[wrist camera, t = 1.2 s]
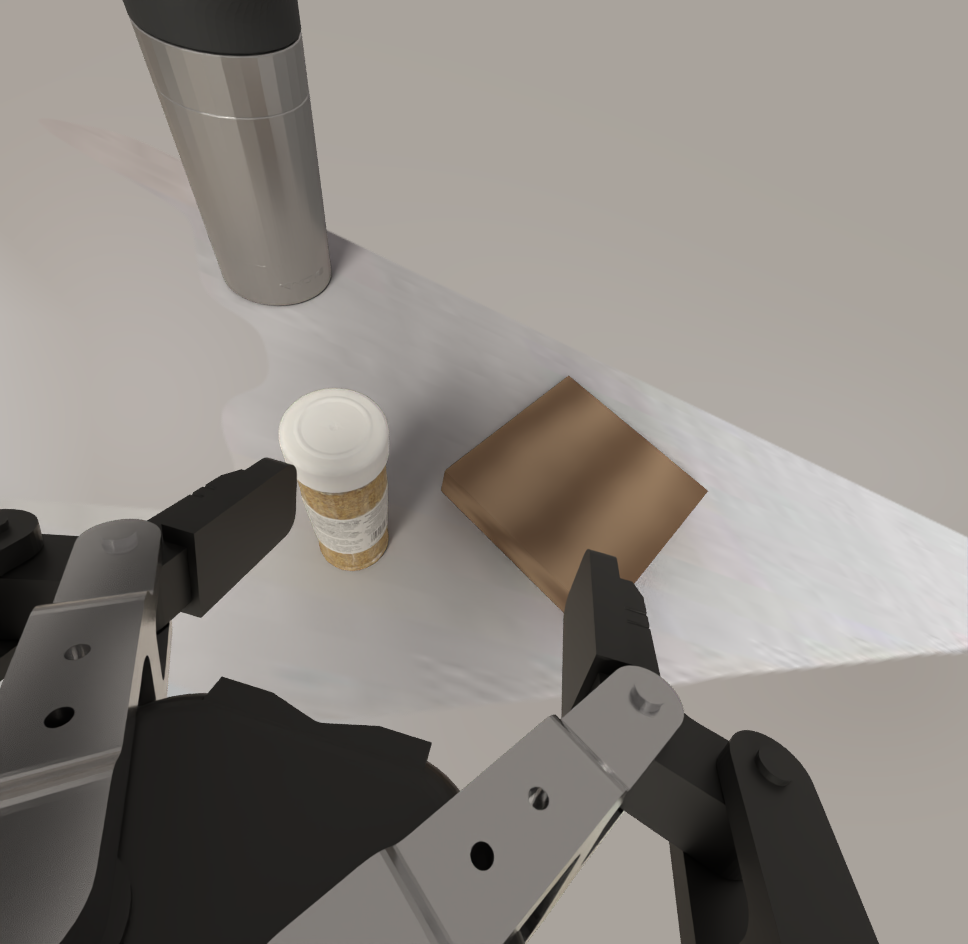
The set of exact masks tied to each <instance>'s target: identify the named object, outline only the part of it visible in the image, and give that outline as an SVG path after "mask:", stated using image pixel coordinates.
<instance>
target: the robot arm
mask: <svg viewBox="0 0 968 944" xmlns="http://www.w3.org/2000/svg"><path fill="white" fill-rule="evenodd" d="M123 2H124V5H125V7H126V10H127V13H128V15H129V17H130V20H131V23H132V26H133V29H134V31H135V34H136V37H137V39H138V42H139V45H140V48H141V50H142V53H143V56H144V59H145V61H146V64H147V67H148V70H149V72H150V75H151V78H152V81H153V83H154V86H155V89H156V91H157V94H158V97H159V99H160V102H161V105H162V108H163V111H164V113H165V116H166V119H167V122H168V125H169V127H170V130H171V133H172V136H173V138H174V141H175V144H176V147H177V150H178V152H179V155H180V158H181V161H182V164H183V166H184V169H185V172H186V175H187V177H188V180H189V183H190V186H191V189H192V191H193V194H194V197H195V200H196V202H197V205H198V208H199V211H200V214H201V216H202V219H203V222H204V225H205V228H206V230H207V233H208V236H209V239H210V242H211V245H212V248H213V250H214V253H215V256H216V259H217V261H218V264H219V267H220V270H221V272H222V275H223V278H224V280H225V282H226V283H227V285H228V286H229V287H230V288H231V289H232V290H233V291H234V292H235V293H236V294H238V295H240V296H241V297H243V298H245V299H248V300H250V301H252V302H256V303H261V304H266V305H290V304H296V303H300V302H303V301H306V300H309V299H311V298H313V297H314V296H316V295H318V294H319V293H320V292H321V291H323V290H324V289H325V287H326V286H327V285H328V283H329V281H330V278H331V264H330V256H329V248H328V240H327V231H326V223H325V215H324V207H323V199H322V191H321V183H320V175H319V167H318V159H317V151H316V143H315V136H314V127H313V119H312V111H311V103H310V95H309V89H308V81H307V72H306V65H305V57H304V48H303V41H302V33H301V25H300V16H299V9H298V1H297V0H123ZM296 488H297V470H296V467H295V466H294V465H292V464H288V463H285V462H281V461H278V460H274V459H271V458H263V459H261V460H260V461H258V462H257V463H255V464H254V465H252V466H251V467H249V468H247V469H246V470H242V469H241V470H238V471H234V472H231V473H228V474H224V475H221V476H220V477H218V478H216V479H214V480H213V481H211V482H209V483H208V484H206V486H205V487H201V488H200V489H198V490H196V491H195V492H193V494H192V495H188V496H187V497H185V498H183V499H182V500H180V501H178V502H177V503H175V504H174V505H172V506H170V507H169V508H167V509H165V510H164V511H162V512H160V513H159V514H157V515H156V516H154V517H152V518H151V519H149V520H147V521H145V520H139V519H121V520H114V521H109V522H105V523H102V524H99V525H96V526H94V527H92V528H90V529H88V530H86V531H85V532H83V533H82V534H81V535H80V536H66V535H50V534H41V530H40V526H39V522H38V519H37V517H36V516H35V515H34V514H32V513H30V512H27V511H23V510H15V509H0V681H1V680H3V679H4V680H3V682H2V685H1V688H0V944H526V943H527V942H528V941H529V940H530V938H531V937H532V936H533V934H534V933H535V932H536V930H537V929H538V928H539V926H540V925H541V924H542V922H543V921H544V920H545V918H546V917H547V916H548V914H549V913H550V912H551V910H552V909H553V907H554V906H555V904H556V903H557V902H558V900H559V899H560V898H561V896H562V895H563V893H564V892H565V890H566V889H567V887H568V886H569V884H570V883H571V882H572V880H573V879H574V878H575V876H576V875H577V874H578V872H579V871H580V870H581V868H582V867H583V866H584V864H585V863H586V862H587V861H588V859H589V858H590V857H591V855H592V854H593V853H594V851H595V850H596V849H597V847H598V846H599V845H600V843H601V842H602V841H603V839H604V838H605V837H606V835H607V834H608V833H609V831H610V830H611V829H612V827H613V826H614V825H615V824H616V822H617V821H618V820H619V818H620V817H621V816H622V815H623V813H624V812H625V811H626V812H627V813H628V814H630V815H631V816H633V817H634V818H636V819H637V820H639V821H640V822H642V823H643V824H644V825H646V826H647V827H649V828H650V829H652V830H653V831H655V832H656V833H658V834H659V835H660V836H662V837H663V838H665V839H666V840H668V841H669V844H670V854H671V862H672V870H673V879H674V887H675V895H676V904H677V913H678V921H679V930H680V938H681V944H879V943H878V941H877V938H876V935H875V933H874V930H873V928H872V925H871V923H870V921H869V918H868V916H867V914H866V911H865V908H864V906H863V904H862V901H861V899H860V896H859V894H858V891H857V889H856V887H855V884H854V882H853V879H852V877H851V874H850V872H849V870H848V867H847V865H846V862H845V860H844V858H843V855H842V853H841V850H840V848H839V845H838V843H837V840H836V838H835V835H834V833H833V831H832V828H831V826H830V824H829V821H828V819H827V816H826V814H825V811H824V809H823V806H822V804H821V802H820V799H819V797H818V794H817V792H816V790H815V787H814V785H813V782H812V780H811V778H810V776H809V775H808V773H807V771H806V770H805V769H804V767H803V766H802V765H801V763H800V762H799V761H798V760H797V759H796V758H795V757H794V756H793V755H792V754H791V753H790V752H789V751H788V750H787V749H786V748H784V747H783V746H782V745H781V744H779V743H778V742H776V741H775V740H773V739H772V738H770V737H768V736H766V735H764V734H761V733H759V732H755V731H750V730H743V731H739V732H737V733H735V734H734V735H733V736H732V738H731V739H730V740H729V741H728V740H726V739H724V738H723V737H721V736H719V735H718V734H716V733H714V732H713V731H711V730H709V729H707V728H705V727H704V726H702V725H700V724H699V723H697V722H696V721H694V720H693V719H691V718H690V717H688V716H687V715H686V714H685V713H684V710H683V705H682V703H681V700H680V698H679V697H678V695H677V693H676V692H675V691H674V689H673V688H672V687H671V686H670V685H669V684H668V683H667V682H666V681H665V680H664V679H663V678H661V677H660V673H659V668H658V663H657V659H656V654H655V650H654V645H653V640H652V636H651V631H650V629H649V622H648V617H647V616H646V613H647V612H646V608H645V603H644V599H643V596H642V595H641V593H640V592H639V590H638V589H637V588H636V586H635V585H634V583H633V582H632V581H629V580H625V579H622V578H620V575H619V568H618V562H617V558H616V557H615V556H612V555H608V554H605V553H601V552H597V551H594V550H590V549H587V550H586V552H585V553H584V556H583V558H582V561H581V563H580V566H579V568H578V571H577V573H576V576H575V578H574V581H573V584H572V586H571V589H570V591H569V594H568V597H567V600H566V605H565V610H564V618H563V667H562V717H561V719H559V718H558V717H557V716H556V715H551V716H549V717H548V718H546V719H545V720H544V721H542V722H541V723H540V724H539V725H538V726H536V727H535V728H534V729H533V730H532V731H531V732H530V733H528V734H527V735H526V736H525V737H523V738H522V739H521V740H520V741H519V742H518V743H516V744H515V745H514V746H513V747H512V748H511V749H509V750H508V751H507V752H506V753H505V754H503V755H502V756H501V757H500V758H499V759H498V760H496V761H495V762H494V763H493V764H492V765H490V766H489V767H488V768H487V769H486V770H485V771H483V772H482V773H481V774H480V775H479V776H478V777H476V778H475V779H474V780H473V781H472V782H470V783H469V784H468V785H467V786H466V787H465V788H464V789H462V790H461V791H459V789H458V788H457V787H456V785H455V784H454V783H453V782H452V781H451V780H450V779H449V778H448V777H447V776H446V775H445V774H444V773H443V772H441V771H440V770H439V769H438V768H437V767H435V766H434V765H432V764H431V763H429V762H428V761H427V759H428V755H429V751H430V748H431V742H428V741H425V740H422V739H419V738H415V737H412V736H409V735H406V734H403V733H400V732H396V731H393V730H390V729H387V728H383V727H380V726H367V725H349V724H330V723H320V722H317V721H315V720H313V719H311V718H310V717H308V716H307V715H305V714H304V713H302V712H301V711H299V710H298V709H296V708H295V707H293V706H292V705H290V704H289V703H287V702H286V701H284V700H283V699H281V698H280V697H278V696H277V695H275V694H274V693H272V692H269V691H266V690H263V689H260V688H257V687H253V686H250V685H247V684H244V683H241V682H237V681H234V680H231V679H228V678H225V677H221V678H220V679H219V681H218V682H217V683H216V684H215V685H214V687H213V688H212V689H211V690H210V691H209V693H196V694H185V695H178V696H172V697H168V698H167V689H168V677H169V665H170V653H171V641H172V619H173V618H174V617H175V616H176V615H177V614H178V613H180V612H183V613H187V614H190V615H193V616H196V617H200V618H201V617H202V616H204V615H205V614H206V613H207V612H208V611H209V610H210V609H211V608H212V607H213V606H214V605H215V604H216V603H217V602H218V601H219V600H220V599H221V598H222V597H223V596H224V595H225V594H226V593H227V592H228V591H229V590H230V589H231V588H233V587H234V586H235V585H236V584H237V583H238V582H239V581H240V580H241V579H242V578H243V577H244V576H245V575H246V574H247V573H248V572H249V571H250V570H251V569H252V568H253V567H254V566H255V565H256V564H257V563H258V562H259V561H260V560H262V559H263V558H264V557H265V556H266V555H267V554H268V553H269V552H270V551H271V550H272V549H273V548H274V547H275V546H276V545H277V544H278V543H279V542H280V541H281V540H282V539H283V538H284V537H285V536H286V535H287V534H288V533H289V531H290V529H291V527H292V525H293V523H294V519H295V514H296Z"/></svg>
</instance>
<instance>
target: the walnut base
mask: <svg viewBox="0 0 968 944" xmlns="http://www.w3.org/2000/svg"><path fill="white" fill-rule="evenodd" d="M441 491H442V492H443V493H444V494H445V495H446V496H447V497H448V498H449V499H450V500H451V501H452V502H453V503H454V504H455V505H456V506H457V507H458V508H459V509H460V510H461V511H462V512H463V513H464V514H465V515H466V516H467V517H468V518H469V519H470V520H471V521H472V522H473V523H474V524H475V525H476V526H477V527H478V528H479V529H480V530H481V531H482V532H483V533H484V534H485V535H486V536H487V537H488V538H489V539H490V540H491V541H492V542H493V543H494V544H495V545H496V546H497V547H498V548H499V549H500V550H501V551H502V552H503V553H504V554H505V555H506V556H507V557H508V558H509V559H510V560H511V561H512V562H513V563H514V564H515V565H516V566H517V567H518V568H519V569H520V570H521V571H522V572H523V573H524V574H525V575H526V576H527V577H528V578H529V579H530V580H531V581H532V582H533V583H534V584H535V585H536V586H537V587H538V588H539V589H540V590H541V591H542V592H543V593H544V594H545V595H546V596H547V597H548V598H549V599H550V600H551V601H552V602H553V603H554V604H555V605H556V606H557V607H558V608H559V609H560V610H561V611H562V612H563V613H564V610H565V605H566V600H567V597H568V594H569V591H570V589H571V586H572V584H573V581H574V578H575V576H576V573H577V571H578V568H579V566H580V563H581V561H582V558H583V556H584V553H585V552H586V550H587V549H590V550H594V551H597V552H601V553H605V554H608V555H612V556H615V557H616V558H617V562H618V568H619V575H620V578H622V579H625V580H629V581H632V582H633V583H635V582H636V581H637V579H638V578H639V577H640V576H641V574H642V573H643V572H644V571H645V569H646V568H647V567H648V566H649V564H650V563H651V562H652V561H653V559H654V558H655V557H656V556H657V554H658V553H659V552H660V551H661V549H662V548H663V547H664V546H665V544H666V543H667V542H668V541H669V539H670V538H671V537H672V536H673V534H674V533H675V532H676V531H677V529H678V528H679V527H680V526H681V524H682V523H683V522H684V521H685V519H686V518H687V517H688V516H689V514H690V513H691V512H692V511H693V509H694V508H695V507H696V506H697V504H698V503H699V502H700V500H701V499H702V498H703V497H704V495H705V494H706V493H707V492H708V491H707V490H706V489H705V488H704V487H703V486H701V485H700V484H699V483H698V482H697V481H695V480H694V479H693V478H692V477H691V476H689V475H688V474H687V473H686V472H684V471H683V470H682V469H681V468H680V467H678V466H677V465H676V464H675V463H674V462H672V461H671V460H670V459H669V458H668V457H666V456H665V455H664V454H663V453H662V452H660V451H659V450H658V449H657V448H655V447H654V446H653V445H652V444H651V443H649V442H648V441H647V440H646V439H645V438H643V437H642V436H641V435H640V434H639V433H637V432H636V431H635V430H634V429H633V428H631V427H630V426H629V425H628V424H626V423H625V422H624V421H623V420H622V419H620V418H619V417H618V416H617V415H616V414H614V413H613V412H612V411H611V410H610V409H608V408H607V407H606V406H605V405H604V404H602V403H601V402H600V401H599V400H598V399H596V398H595V397H594V396H593V395H591V394H590V393H589V392H588V391H587V390H585V389H584V388H583V387H582V386H581V385H579V384H578V383H577V382H576V381H575V380H573V379H572V378H571V377H570V376H567V377H566V378H565V379H564V380H562V381H561V382H560V383H558V384H557V385H556V386H554V387H553V388H552V389H551V390H549V391H548V392H547V393H545V394H544V395H543V396H541V397H540V398H539V399H538V400H536V401H535V402H534V403H532V404H531V405H530V406H528V407H527V408H526V409H524V410H523V411H522V412H521V413H519V414H518V415H517V416H515V417H514V418H513V419H511V420H510V421H509V422H508V423H506V424H505V425H504V426H502V427H501V428H500V429H498V430H497V431H496V432H494V433H493V434H492V435H491V436H489V437H488V438H487V439H485V440H484V441H483V442H481V443H480V444H479V445H478V446H476V447H475V448H474V449H472V450H471V451H470V452H468V453H467V454H466V455H465V456H463V457H462V458H461V459H459V460H458V461H457V462H455V463H454V464H453V465H451V466H450V467H449V468H448V469H446V470H445V473H444V478H443V483H442V487H441Z"/></svg>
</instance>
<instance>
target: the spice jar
mask: <svg viewBox="0 0 968 944" xmlns="http://www.w3.org/2000/svg"><path fill="white" fill-rule="evenodd" d="M279 443H280V447H281V450H282V453H283V456H284V459H285V461H286V463H288V464H292V465H294V466H295V467H296V470H297V481H298V483H299V487H300V490H301V496H302V499H303V502H304V505H305V507H306V510H307V513H308V515H309V518H310V521H311V523H312V526H313V529H314V531H315V534H316V536H317V537H318V539H319V546H320V549H321V552H322V554H323V555H324V557H325V558H326V560H327V561H328V562H329V563H331V564H332V565H334V566H335V567H337V568H340V569H342V570H349V571H355V570H361V569H364V568H367V567H369V566H370V565H372V564H374V563H375V562H377V561H378V560H379V558H380V557H381V556H382V555H383V553H384V551H385V550H386V548H387V545H388V538H389V534H388V529H387V523H388V479H387V473H386V462H387V460H388V456H389V429H388V423H387V419H386V417H385V415H384V413H383V412H382V410H381V409H380V407H379V406H378V405H377V404H376V403H375V402H374V401H373V400H371V399H370V398H368V397H367V396H365V395H363V394H361V393H359V392H356V391H353V390H349V389H343V388H328V389H322V390H317V391H314V392H311V393H309V394H306V395H304V396H303V397H301V398H299V399H298V400H297V401H295V402H294V403H293V404H292V405H291V406H290V407H289V408H288V409H287V411H286V412H285V414H284V415H283V417H282V419H281V422H280V425H279Z"/></svg>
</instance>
